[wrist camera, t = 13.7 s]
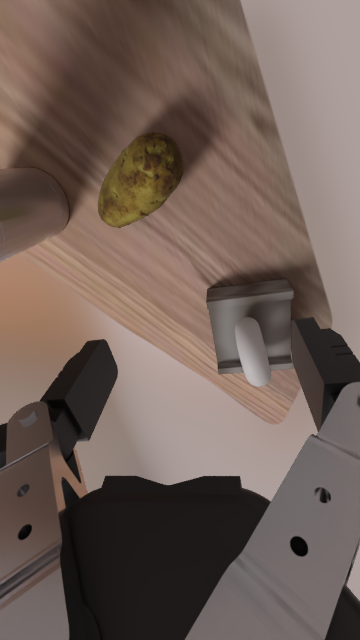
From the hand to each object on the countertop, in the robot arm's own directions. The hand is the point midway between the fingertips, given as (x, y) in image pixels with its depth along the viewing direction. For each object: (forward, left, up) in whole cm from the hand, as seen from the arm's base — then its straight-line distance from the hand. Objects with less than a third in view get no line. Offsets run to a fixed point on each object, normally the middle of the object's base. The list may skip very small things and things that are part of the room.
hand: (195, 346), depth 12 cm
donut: (+4, -18, -27) cm, 33 cm away
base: (+4, -18, -30) cm, 35 cm away
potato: (-8, +6, -30) cm, 32 cm away
